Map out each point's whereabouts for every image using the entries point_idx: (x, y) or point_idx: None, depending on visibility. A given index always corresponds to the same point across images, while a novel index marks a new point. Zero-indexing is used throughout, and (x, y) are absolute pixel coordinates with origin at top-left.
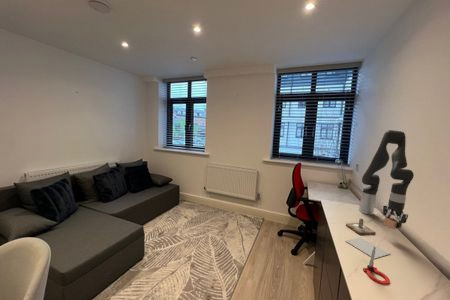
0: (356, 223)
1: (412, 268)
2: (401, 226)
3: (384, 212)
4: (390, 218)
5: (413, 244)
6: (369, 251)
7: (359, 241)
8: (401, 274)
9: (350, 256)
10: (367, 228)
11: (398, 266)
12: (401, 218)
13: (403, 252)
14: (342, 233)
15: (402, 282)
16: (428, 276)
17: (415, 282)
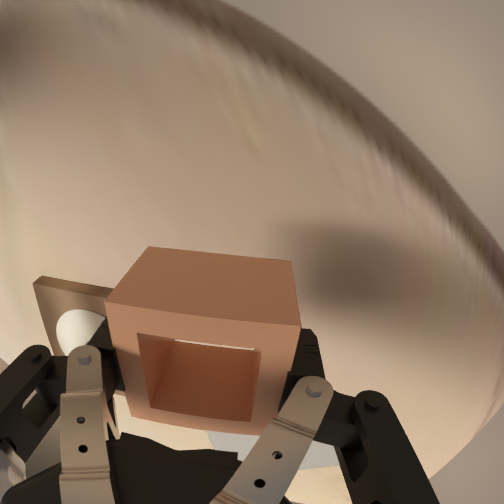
0: (43, 317)
1: (444, 394)
2: (294, 284)
3: (48, 421)
4: (139, 369)
5: (346, 118)
6: (312, 456)
7: (237, 442)
8: (426, 440)
9: (306, 492)
10: (103, 318)
11: (410, 427)
12: (351, 497)
13: (384, 328)
14: (159, 441)
15: (434, 453)
16: (483, 378)
17: (457, 430)
